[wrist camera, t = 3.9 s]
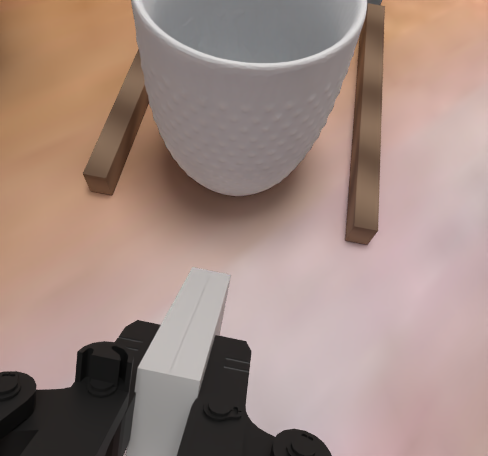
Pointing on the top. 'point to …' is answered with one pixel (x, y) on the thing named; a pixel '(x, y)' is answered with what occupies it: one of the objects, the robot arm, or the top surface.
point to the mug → (244, 82)
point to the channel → (363, 143)
